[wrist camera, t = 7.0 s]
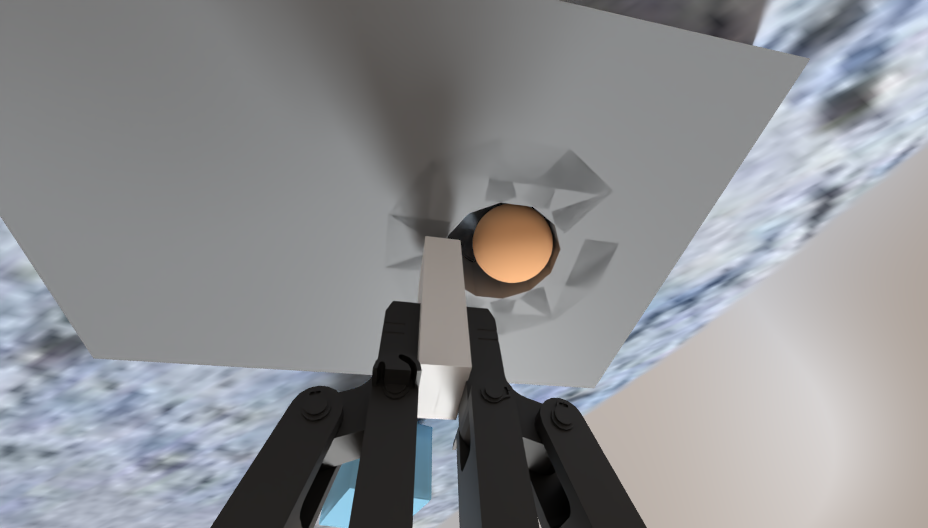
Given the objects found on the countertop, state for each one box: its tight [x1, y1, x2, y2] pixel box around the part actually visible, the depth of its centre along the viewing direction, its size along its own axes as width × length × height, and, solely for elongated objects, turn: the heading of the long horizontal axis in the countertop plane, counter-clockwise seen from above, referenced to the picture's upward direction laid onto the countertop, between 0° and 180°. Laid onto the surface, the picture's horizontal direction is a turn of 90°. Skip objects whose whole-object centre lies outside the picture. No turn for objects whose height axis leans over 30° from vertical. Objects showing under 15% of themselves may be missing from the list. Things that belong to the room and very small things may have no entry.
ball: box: [473, 204, 553, 283], centre depth 18 cm, size 4×4×4 cm
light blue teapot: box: [319, 421, 432, 528], centre depth 29 cm, size 12×6×8 cm, turn 151°
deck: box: [0, 0, 810, 388], centre depth 18 cm, size 30×20×3 cm, turn 80°
